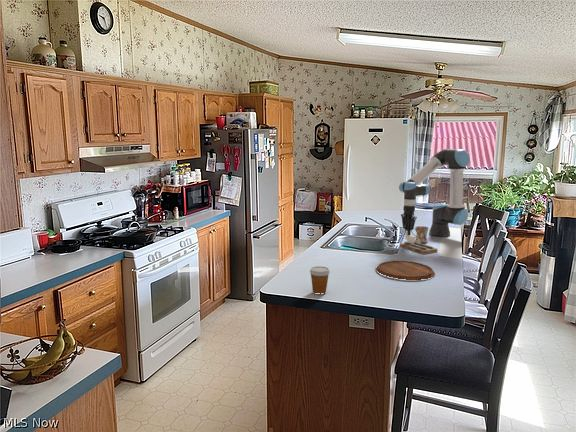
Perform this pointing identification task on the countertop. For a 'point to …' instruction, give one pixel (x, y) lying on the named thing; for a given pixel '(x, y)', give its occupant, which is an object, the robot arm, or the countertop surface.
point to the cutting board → (405, 270)
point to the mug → (421, 234)
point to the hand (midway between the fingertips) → (407, 239)
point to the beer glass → (319, 278)
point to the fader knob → (411, 239)
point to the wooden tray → (418, 247)
